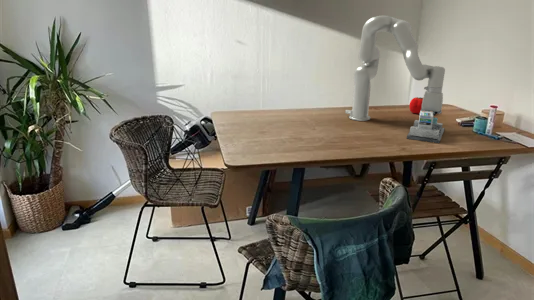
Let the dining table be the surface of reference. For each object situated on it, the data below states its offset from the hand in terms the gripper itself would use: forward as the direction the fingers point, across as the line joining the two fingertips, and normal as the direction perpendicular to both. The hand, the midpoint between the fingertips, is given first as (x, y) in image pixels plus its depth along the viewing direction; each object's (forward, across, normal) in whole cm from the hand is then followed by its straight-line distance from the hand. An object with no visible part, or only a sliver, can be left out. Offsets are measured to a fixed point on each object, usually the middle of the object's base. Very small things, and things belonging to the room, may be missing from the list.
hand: (429, 122), depth 236 cm
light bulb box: (+3, -1, -13) cm, 13 cm away
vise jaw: (+2, 0, -5) cm, 5 cm away
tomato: (+4, -11, +36) cm, 38 cm away
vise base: (+4, 0, -10) cm, 11 cm away
